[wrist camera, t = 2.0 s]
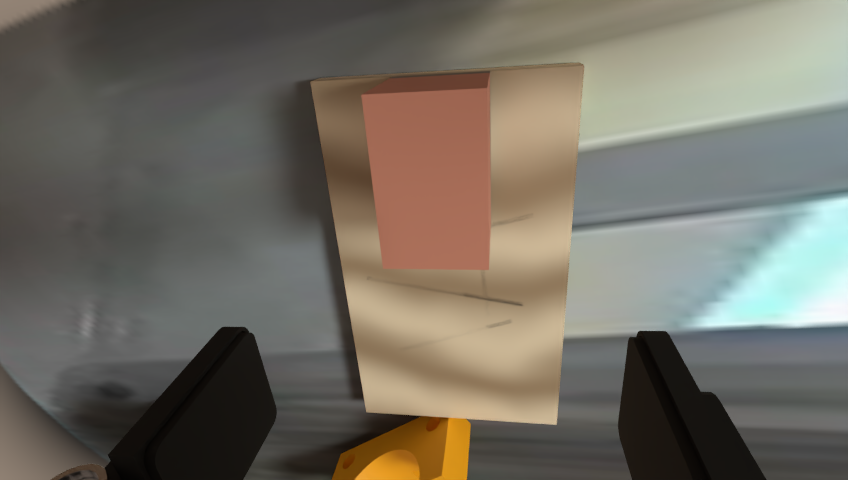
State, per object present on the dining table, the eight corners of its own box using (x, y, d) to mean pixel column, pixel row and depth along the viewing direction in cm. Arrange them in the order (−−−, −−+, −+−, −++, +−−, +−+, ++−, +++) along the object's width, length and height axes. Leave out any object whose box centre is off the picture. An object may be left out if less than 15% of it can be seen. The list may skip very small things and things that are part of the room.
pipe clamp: (373, 482, 41) (353, 558, 35) (341, 452, 40) (315, 525, 34) (483, 436, 36) (480, 514, 31) (451, 400, 35) (441, 475, 30)
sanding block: (392, 76, 24) (361, 94, 18) (490, 70, 23) (487, 88, 17) (405, 218, 27) (382, 268, 22) (491, 218, 26) (489, 270, 21)
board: (320, 77, 26) (310, 81, 24) (579, 62, 23) (584, 65, 22) (371, 397, 36) (366, 412, 35) (554, 408, 34) (556, 424, 32)
